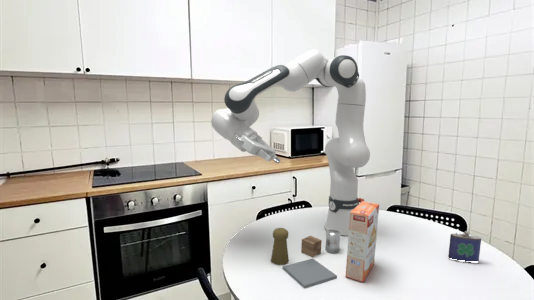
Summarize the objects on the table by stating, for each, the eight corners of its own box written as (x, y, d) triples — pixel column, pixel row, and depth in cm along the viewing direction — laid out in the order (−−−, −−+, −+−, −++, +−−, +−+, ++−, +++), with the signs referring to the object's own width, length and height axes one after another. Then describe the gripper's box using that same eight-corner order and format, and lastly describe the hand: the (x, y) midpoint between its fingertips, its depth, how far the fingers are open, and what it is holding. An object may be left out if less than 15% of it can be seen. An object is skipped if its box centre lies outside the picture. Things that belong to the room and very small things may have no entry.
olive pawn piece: (287, 266, 99) (288, 233, 98) (269, 263, 100) (270, 231, 99) (289, 257, 105) (290, 226, 103) (272, 255, 106) (273, 225, 105)
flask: (477, 260, 105) (480, 231, 104) (480, 265, 102) (483, 234, 101) (447, 257, 108) (450, 228, 106) (449, 260, 105) (452, 231, 103)
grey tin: (333, 246, 114) (333, 228, 113) (342, 252, 110) (343, 233, 109) (322, 249, 112) (323, 230, 111) (331, 254, 107) (332, 235, 106)
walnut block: (310, 248, 112) (310, 235, 111) (321, 253, 109) (321, 239, 108) (301, 252, 109) (301, 239, 108) (312, 257, 105) (312, 243, 104)
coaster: (312, 260, 103) (312, 258, 103) (336, 278, 92) (336, 275, 92) (282, 268, 97) (282, 266, 97) (304, 288, 87) (304, 285, 87)
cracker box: (364, 283, 90) (369, 215, 87) (344, 277, 93) (348, 211, 90) (375, 264, 101) (380, 203, 99) (357, 259, 105) (361, 200, 102)
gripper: (238, 127, 101) (269, 149, 96) (261, 136, 120) (288, 156, 115) (227, 142, 102) (258, 166, 97) (252, 149, 121) (279, 169, 116)
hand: (275, 160), depth 106 cm, fingers open, 8 cm apart
